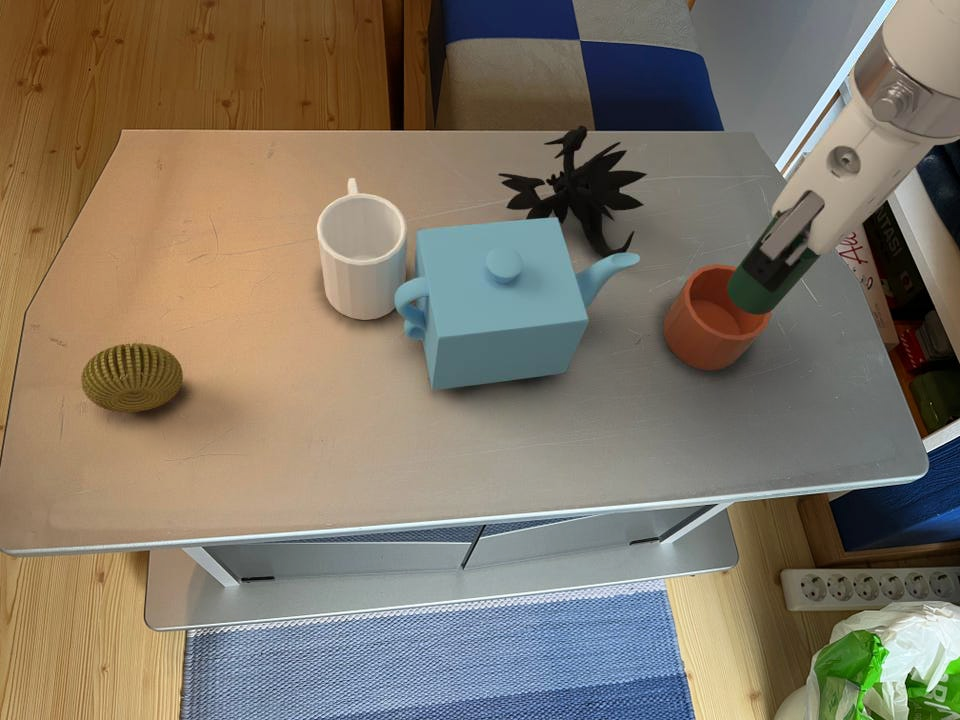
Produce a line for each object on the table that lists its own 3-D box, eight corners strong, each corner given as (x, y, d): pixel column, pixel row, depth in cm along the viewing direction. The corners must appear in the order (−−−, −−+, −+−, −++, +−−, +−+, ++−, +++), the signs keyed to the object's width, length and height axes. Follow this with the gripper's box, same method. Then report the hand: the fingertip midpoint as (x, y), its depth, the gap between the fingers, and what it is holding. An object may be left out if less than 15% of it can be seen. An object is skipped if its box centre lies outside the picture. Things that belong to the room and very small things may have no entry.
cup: (758, 339, 78) (787, 307, 73) (708, 385, 75) (735, 355, 69) (697, 285, 81) (721, 250, 75) (646, 328, 78) (667, 294, 72)
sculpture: (189, 369, 70) (167, 326, 63) (194, 407, 68) (172, 367, 61) (98, 387, 68) (64, 346, 61) (101, 427, 66) (67, 389, 59)
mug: (391, 220, 80) (391, 156, 72) (411, 314, 75) (414, 257, 66) (315, 229, 79) (306, 164, 70) (330, 325, 74) (323, 268, 65)
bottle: (787, 296, 63) (852, 222, 54) (757, 324, 61) (819, 253, 52) (747, 262, 64) (804, 185, 55) (716, 289, 62) (770, 213, 54)
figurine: (535, 270, 87) (488, 261, 77) (530, 162, 87) (482, 140, 77) (671, 255, 79) (637, 244, 69) (665, 136, 79) (631, 108, 69)
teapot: (402, 402, 71) (405, 330, 58) (385, 303, 75) (385, 217, 63) (619, 372, 75) (664, 299, 63) (590, 280, 80) (627, 196, 67)
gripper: (905, 188, 38) (751, 354, 54) (1047, 55, 45) (872, 238, 61) (790, 102, 40) (674, 286, 56) (942, -13, 47) (799, 181, 63)
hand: (778, 260), depth 58 cm, fingers closed on bottle, 4 cm apart
